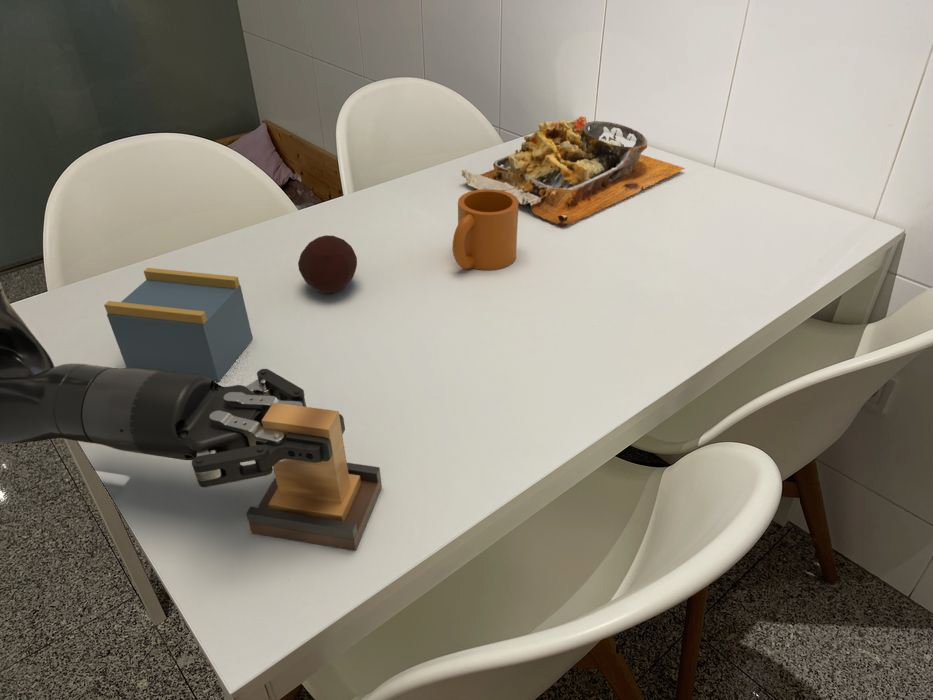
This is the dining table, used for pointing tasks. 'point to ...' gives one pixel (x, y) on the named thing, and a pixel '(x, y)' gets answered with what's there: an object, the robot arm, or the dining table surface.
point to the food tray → (573, 170)
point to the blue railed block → (182, 323)
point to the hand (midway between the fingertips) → (335, 437)
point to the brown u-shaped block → (317, 527)
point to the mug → (486, 230)
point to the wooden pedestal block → (312, 466)
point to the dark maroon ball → (328, 264)
